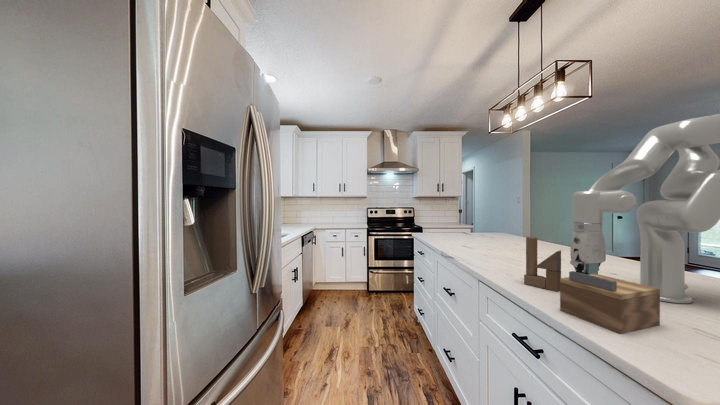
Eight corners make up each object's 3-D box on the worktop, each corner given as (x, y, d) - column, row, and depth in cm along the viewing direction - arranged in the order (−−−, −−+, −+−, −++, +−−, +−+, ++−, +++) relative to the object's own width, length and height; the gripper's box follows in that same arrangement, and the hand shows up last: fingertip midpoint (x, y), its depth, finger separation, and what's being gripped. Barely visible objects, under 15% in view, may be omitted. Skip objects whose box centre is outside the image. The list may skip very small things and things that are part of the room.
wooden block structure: (557, 292, 91) (557, 240, 90) (523, 284, 99) (523, 236, 99) (561, 290, 93) (561, 239, 93) (528, 282, 101) (528, 236, 101)
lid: (596, 277, 80) (596, 266, 80) (659, 293, 66) (659, 279, 66) (560, 282, 75) (560, 270, 75) (620, 300, 62) (620, 284, 62)
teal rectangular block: (597, 291, 86) (597, 255, 86) (589, 293, 85) (589, 256, 85) (584, 287, 90) (584, 253, 90) (575, 289, 89) (575, 253, 89)
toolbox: (596, 304, 80) (596, 278, 80) (659, 325, 66) (659, 293, 66) (560, 310, 76) (560, 282, 75) (620, 333, 62) (620, 300, 62)
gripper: (581, 230, 81) (581, 289, 81) (617, 228, 86) (617, 284, 86) (557, 227, 88) (556, 281, 88) (591, 226, 93) (591, 277, 93)
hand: (586, 282), depth 87 cm, fingers closed on teal rectangular block, 4 cm apart
